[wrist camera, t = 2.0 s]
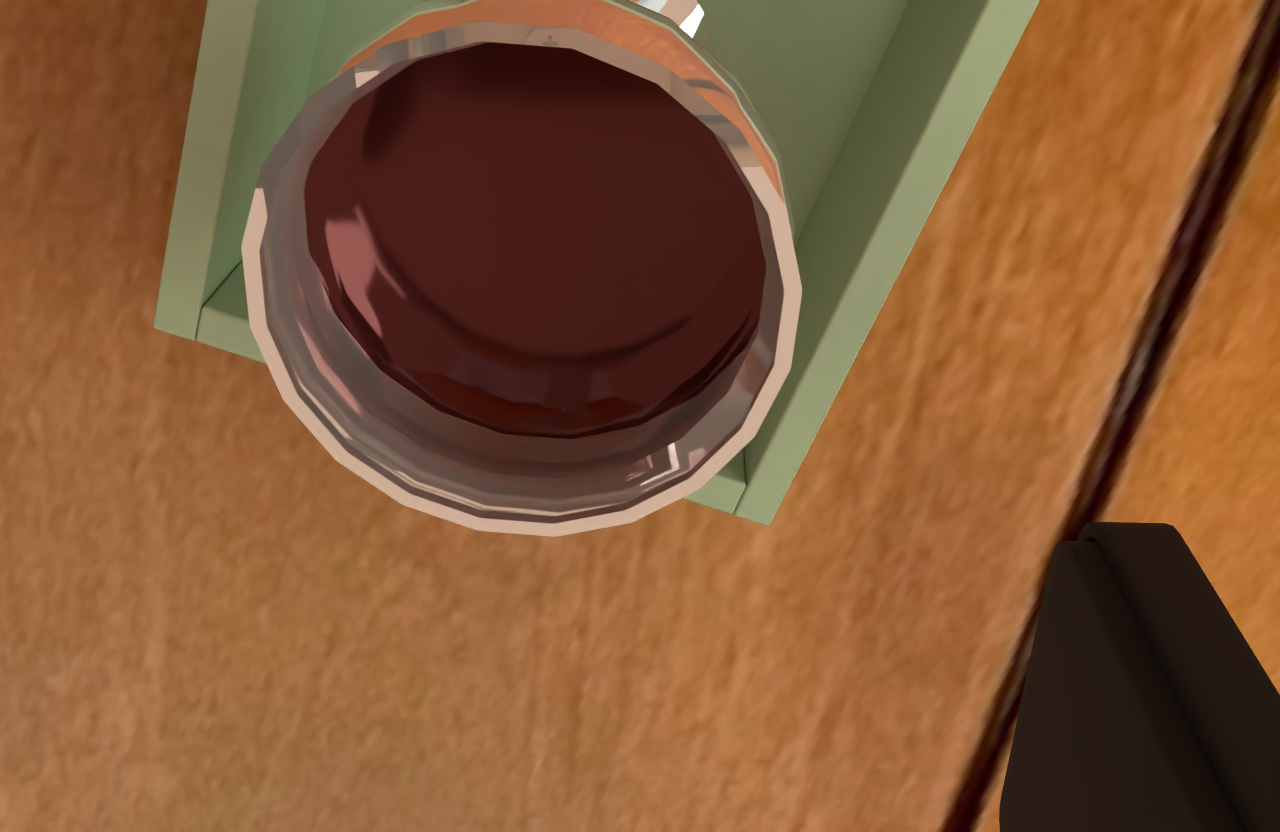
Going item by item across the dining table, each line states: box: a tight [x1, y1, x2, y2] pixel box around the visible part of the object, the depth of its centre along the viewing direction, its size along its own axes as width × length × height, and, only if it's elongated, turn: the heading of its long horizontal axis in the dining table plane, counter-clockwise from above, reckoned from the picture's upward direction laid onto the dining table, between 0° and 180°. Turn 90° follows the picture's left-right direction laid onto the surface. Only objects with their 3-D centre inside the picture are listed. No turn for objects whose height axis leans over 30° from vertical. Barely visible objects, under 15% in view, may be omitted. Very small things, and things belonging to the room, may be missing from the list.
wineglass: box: [241, 0, 802, 537], centre depth 19 cm, size 7×7×12 cm
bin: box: [153, 0, 1040, 526], centre depth 22 cm, size 13×13×5 cm
